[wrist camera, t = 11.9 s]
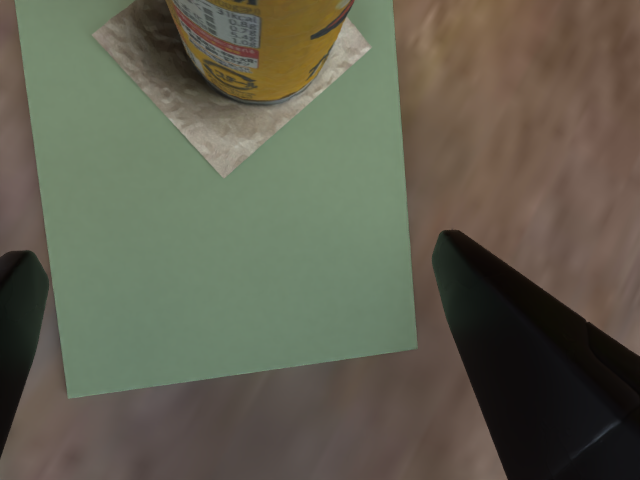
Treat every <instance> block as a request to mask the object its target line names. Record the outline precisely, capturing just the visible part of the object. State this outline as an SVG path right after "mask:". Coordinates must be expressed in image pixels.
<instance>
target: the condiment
mask: <svg viewBox="0 0 640 480" xmlns="http://www.w3.org/2000/svg"><path fill="white" fill-rule="evenodd" d="M354 1H355V0H135V1H134V2H133V3H131V4H130V5H129V6H128V7H127V8H125V9H124V10H122V11H121V12H119V13H118V14H117V15H115V16H114V17H112V18H111V19H110V20H108V21H107V22H106V23H105V24H104V25H103V26H102V27H101V28H99V29H98V30H97V31H96V32H95V33H93V34H92V36H93V37H94V38H95V39H96V40H97V41H98V43H99V44H100V45H101V46H102V47H103V48H104V49H105V50H106V51H107V52H108V53H109V54H110V56H111V57H112V58H113V59H114V60H115V61H116V62H117V63H118V64H119V65H120V66H121V68H122V69H123V70H124V71H125V72H126V73H127V74H128V75H129V76H130V77H131V78H132V79H133V81H134V82H136V84H137V85H138V86H139V87H140V88H141V90H142V91H143V92H144V93H145V94H146V95H147V96H148V97H149V98H150V99H151V100H152V101H153V102H154V103H155V104H156V106H157V107H158V108H159V109H160V110H161V111H162V112H163V113H164V114H165V115H166V116H167V117H168V119H169V120H170V121H171V122H172V123H173V124H174V125H175V126H176V127H177V128H178V129H179V131H180V132H181V133H182V134H183V135H184V136H185V137H186V138H187V139H188V140H189V141H190V142H191V144H192V145H193V146H194V147H195V148H196V149H197V150H198V151H199V152H200V153H201V154H202V155H203V156H204V158H205V159H206V160H207V161H208V162H209V163H210V164H211V165H212V166H213V167H214V169H215V170H216V171H217V172H218V173H219V174H220V175H221V176H222V177H223V178H225V177H226V176H228V175H229V174H230V173H231V172H232V171H233V170H234V169H235V168H236V167H238V166H239V165H240V164H241V163H242V162H243V161H244V160H246V159H247V158H248V157H249V156H250V155H251V154H252V153H254V152H255V151H256V150H257V149H258V148H259V147H260V146H261V145H262V144H264V143H265V142H266V141H267V140H268V139H269V138H270V137H271V136H273V135H274V134H275V133H276V132H277V131H278V130H279V129H280V128H282V127H283V126H284V125H285V124H286V123H287V122H289V121H290V120H291V119H292V118H293V117H294V116H295V115H297V114H298V113H299V112H300V111H301V110H302V109H303V108H305V107H306V106H307V105H308V104H309V103H310V102H311V101H313V100H314V99H315V98H316V97H317V96H318V95H319V94H320V93H322V92H323V91H324V90H325V89H326V88H327V87H328V86H329V85H331V84H332V83H333V82H334V81H335V80H336V79H337V78H339V77H340V76H341V75H342V74H343V73H344V72H345V71H346V70H347V69H349V68H350V67H351V66H352V65H353V64H354V63H355V62H357V61H358V60H359V59H360V58H361V57H362V56H363V55H364V54H365V53H367V52H368V51H369V50H370V49H371V48H372V46H371V45H370V44H369V43H368V42H367V41H366V40H365V38H364V37H363V36H362V34H361V33H360V32H359V31H358V29H357V28H356V27H355V26H354V24H352V23H351V21H350V20H349V18H348V17H347V14H348V13H349V11H350V9H351V8H352V5H353V4H354Z"/></svg>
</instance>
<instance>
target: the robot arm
mask: <svg viewBox="0 0 640 480" xmlns="http://www.w3.org/2000/svg"><path fill="white" fill-rule="evenodd" d="M432 265H433V269H434V273H435V277H436V281H437V285H438V288H439V292H440V296H441V300H442V304H443V308H444V312H445V315H446V319H447V322H448V324H449V327H450V330H451V332H452V335H453V338H454V340H455V343H456V346H457V348H458V351H459V353H460V356H461V359H462V361H463V364H464V366H465V369H466V372H467V374H468V377H469V379H470V382H471V385H472V387H473V390H474V393H475V395H476V398H477V400H478V403H479V406H480V408H481V411H482V413H483V416H484V419H485V421H486V424H487V426H488V429H489V432H490V434H491V437H492V440H493V442H494V445H495V447H496V450H497V453H498V455H499V458H500V460H501V463H502V466H503V468H504V471H505V473H506V476H507V479H508V480H640V356H638V355H637V354H635V353H634V352H632V351H631V350H629V349H628V348H626V347H625V346H623V345H622V344H620V343H619V342H617V341H616V340H614V339H613V338H611V337H610V336H608V335H607V334H605V333H604V332H603V331H601V330H600V329H598V328H597V327H596V326H594V325H593V324H591V323H590V322H586V320H585V319H584V318H583V317H581V316H580V315H578V314H577V313H576V312H574V311H573V310H571V309H570V308H569V307H567V306H566V305H564V304H563V303H561V302H560V301H559V300H557V299H556V298H554V297H553V296H552V295H550V294H549V293H547V292H546V291H544V290H543V289H542V288H540V287H539V286H537V285H536V284H535V283H533V282H532V281H530V280H529V279H527V278H526V277H525V276H523V275H522V274H520V273H519V272H518V271H516V270H515V269H513V268H512V267H510V266H509V265H508V264H506V263H505V262H503V261H502V260H501V259H499V258H498V257H496V256H495V255H493V254H492V253H491V252H489V251H488V250H486V249H485V248H484V247H482V246H481V245H479V244H478V243H477V242H475V241H474V240H472V239H471V238H469V237H468V236H467V235H465V234H464V233H462V232H461V231H459V230H444V231H442V232H441V233H440V234H439V237H438V240H437V243H436V246H435V249H434V251H433V255H432ZM48 290H49V279H48V276H47V274H46V272H45V271H44V269H43V267H42V265H41V263H40V262H39V260H38V258H37V256H36V255H35V253H33V252H32V251H29V250H25V251H11V252H8V253H6V254H4V255H3V256H1V257H0V458H1V455H2V452H3V449H4V446H5V443H6V440H7V437H8V434H9V431H10V428H11V425H12V422H13V419H14V416H15V413H16V410H17V407H18V404H19V401H20V398H21V395H22V392H23V389H24V386H25V383H26V380H27V377H28V374H29V371H30V368H31V365H32V362H33V359H34V356H35V352H36V348H37V344H38V340H39V335H40V330H41V325H42V320H43V315H44V310H45V305H46V300H47V295H48Z"/></svg>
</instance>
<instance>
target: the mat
mask: <svg viewBox="0 0 640 480" xmlns="http://www.w3.org/2000/svg"><path fill="white" fill-rule="evenodd" d="M134 1H135V0H15V7H16V14H17V21H18V29H19V36H20V44H21V51H22V59H23V66H24V74H25V81H26V89H27V96H28V104H29V111H30V118H31V126H32V133H33V141H34V148H35V156H36V163H37V171H38V178H39V186H40V193H41V201H42V208H43V215H44V223H45V230H46V238H47V245H48V253H49V260H50V268H51V275H52V283H53V290H54V298H55V305H56V312H57V320H58V327H59V335H60V342H61V350H62V357H63V365H64V372H65V380H66V387H67V394H68V398H75V397H82V396H89V395H96V394H103V393H110V392H117V391H124V390H132V389H139V388H146V387H153V386H160V385H167V384H174V383H181V382H188V381H195V380H202V379H209V378H216V377H223V376H230V375H237V374H244V373H251V372H258V371H265V370H272V369H279V368H286V367H293V366H300V365H307V364H315V363H322V362H329V361H336V360H343V359H350V358H357V357H364V356H371V355H378V354H385V353H392V352H399V351H406V350H413V349H417V335H416V321H415V307H414V293H413V279H412V265H411V251H410V237H409V224H408V210H407V196H406V182H405V168H404V154H403V140H402V126H401V112H400V98H399V84H398V70H397V57H396V43H395V29H394V15H393V1H392V0H355V1H354V4H353V5H352V8H351V9H350V11H349V13H348V14H347V17H348V18H349V20H350V21H351V23H352V24H354V26H355V27H356V28H357V29H358V31H359V32H360V33H361V34H362V36H363V37H364V38H365V40H366V41H367V42H368V43H369V44H370V45H371V46H372V48H371V49H370V50H369V51H368V52H367V53H365V54H364V55H363V56H362V57H361V58H360V59H359V60H358V61H357V62H355V63H354V64H353V65H352V66H351V67H350V68H349V69H347V70H346V71H345V72H344V73H343V74H342V75H341V76H340V77H339V78H337V79H336V80H335V81H334V82H333V83H332V84H331V85H329V86H328V87H327V88H326V89H325V90H324V91H323V92H322V93H320V94H319V95H318V96H317V97H316V98H315V99H314V100H313V101H311V102H310V103H309V104H308V105H307V106H306V107H305V108H303V109H302V110H301V111H300V112H299V113H298V114H297V115H295V116H294V117H293V118H292V119H291V120H290V121H289V122H287V123H286V124H285V125H284V126H283V127H282V128H280V129H279V130H278V131H277V132H276V133H275V134H274V135H273V136H271V137H270V138H269V139H268V140H267V141H266V142H265V143H264V144H262V145H261V146H260V147H259V148H258V149H257V150H256V151H255V152H254V153H252V154H251V155H250V156H249V157H248V158H247V159H246V160H244V161H243V162H242V163H241V164H240V165H239V166H238V167H236V168H235V169H234V170H233V171H232V172H231V173H230V174H229V175H228V176H226V177H225V178H223V177H222V176H221V175H220V174H219V173H218V172H217V171H216V170H215V169H214V167H213V166H212V165H211V164H210V163H209V162H208V161H207V160H206V159H205V158H204V156H203V155H202V154H201V153H200V152H199V151H198V150H197V149H196V148H195V147H194V146H193V145H192V144H191V142H190V141H189V140H188V139H187V138H186V137H185V136H184V135H183V134H182V133H181V132H180V131H179V129H178V128H177V127H176V126H175V125H174V124H173V123H172V122H171V121H170V120H169V119H168V117H167V116H166V115H165V114H164V113H163V112H162V111H161V110H160V109H159V108H158V107H157V106H156V104H155V103H154V102H153V101H152V100H151V99H150V98H149V97H148V96H147V95H146V94H145V93H144V92H143V91H142V90H141V88H140V87H139V86H138V85H137V84H136V82H134V81H133V79H132V78H131V77H130V76H129V75H128V74H127V73H126V72H125V71H124V70H123V69H122V68H121V66H120V65H119V64H118V63H117V62H116V61H115V60H114V59H113V58H112V57H111V56H110V54H109V53H108V52H107V51H106V50H105V49H104V48H103V47H102V46H101V45H100V44H99V43H98V41H97V40H96V39H95V38H94V37H93V36H92V34H93V33H95V32H96V31H97V30H98V29H99V28H101V27H102V26H103V25H104V24H105V23H106V22H107V21H108V20H110V19H111V18H112V17H114V16H115V15H117V14H118V13H119V12H121V11H122V10H124V9H125V8H127V7H128V6H129V5H130V4H131V3H133V2H134Z"/></svg>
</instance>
